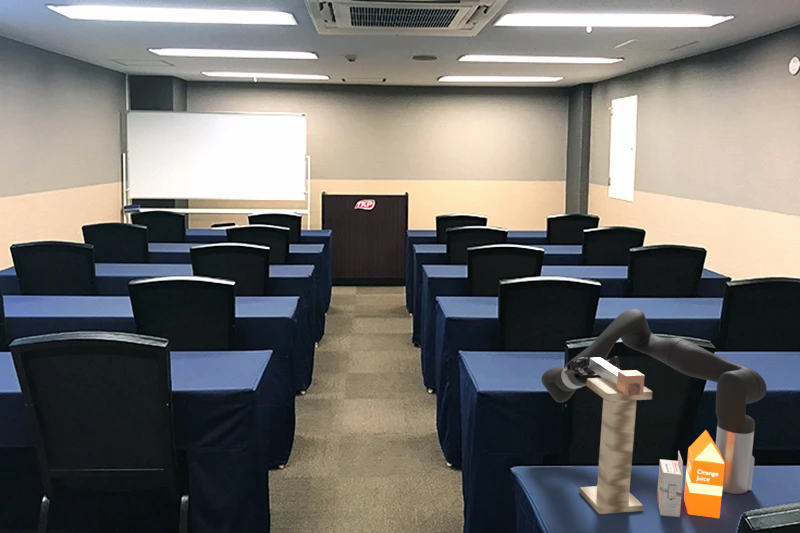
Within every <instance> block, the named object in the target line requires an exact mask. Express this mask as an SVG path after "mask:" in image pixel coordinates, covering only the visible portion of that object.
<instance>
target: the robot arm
mask: <svg viewBox="0 0 800 533" xmlns="http://www.w3.org/2000/svg"><path fill="white" fill-rule="evenodd" d="M619 340H621V341H622V343H623V344H624V345H625V346H626V347H628V348H630V349H632V350H635V351H636V352H640V353H642V354H645V355H648V356H650V357H652V358H653V359H656V360H657V361H660V362H662V363H663V364H666V365H667V366H669V367H670V368H672V369H674V370H675V371H677V372H679V373H681V374H684V375H686V376H689V377H692V378H696V379H701V380H705V381H709V382H714V383H717V384H716V394H715V415H716V419H717V426H716V437H715V445H716V446H717V448H718V450H719V451H720V454H721V456H722V458H723V461H724V463H725V467H724V476H723V488H722V492H724V493H727V494H733V495H739V494H740V495H741V494H745V493H747V492H748V491H752V486H753V477H754V469H755V468H754V466H755V457H754V456H753V446H754V438H755V437H754V436H755V427H756V421H755V419H754V418H752V417H751V416H750V415H747V414H746V409H747V408H746V407H747V405H748V404H753V403H756V402H758V401H760V400H762V399H763V398H764V397H765V396H766V394H767V390H768V388H767V384H766V381H765V379H764V378H763V377H762V375H760V373H758V372H757V371H755V370H754V369H751V368H748V367H746V366H743V365H740V364H738V363H735V362H732V361H730V360H727V359H724V358H723V357H720V356H719V355H717V354H715V353H714V352H711V351H709V350H707V349H704V348H703V347H700V346H699V345H697V344H695V343H694V342H691V341H689V340H687V339H685V338H682V337H671V338H666V339H663V338H661V337H660V336H657V335H656V334H654V333H653V332H652V331H651V330H650V326H649V324H648V321H647V317H646V315H645V314H644V312H642V311H641V310H640V309H637V308H633V309H628V310H624V311H623V312H622V313H621V314H619V315H618V316H617V317H616V318H615V319H613V321H612V322H611V323H610V324H609V325H608V326H607V327H606V328H605V329H604V330H603V331H602V332H601V333H600V335H599V336H598V337H597V338H596V339H595V340H594V341H593V342H592V343H591V344H590V345H589V346H587V347H586V348H585V349H584V350H583V351H581V352H580V353H579V354H577V355H576V356H575V357H573V358H572V359H571V360H569V361H568V362H567V363H565V364H564V365H563V367H560V366H559V367H552V368H549V369H547V370H546V371H545V372H544V373H543V374H542V376H541V384H542V385H543V387H544V388H545V389H546V390H547V391H548V393H549V395H550V396H551V397H552V399H553V400H554V401H555V402H557V403H565V402H567V401H568V400H569V399H571V397H572V396H573V395H574V393H575V392H576V390H577V389H580V388H582V387H585V386H586V385H587V378H597V376H599V375H598V374H597V373H595V372H594V371H592V370H591V369H590V368H589V365H590V358H597V357H600V358H602V359H604V360H605V361H607V362H608V363H610V364H611V365H613V366H614V367H616V368H618V369H619V370H620V368H621V367H620V358H619V357H618V356H613V357H611V358H610V359H607V357H608V355H609V353H610V352H611V350H612V348H613V347H614V346H615V344H616V342H618V341H619Z"/></svg>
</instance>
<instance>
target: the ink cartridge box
mask: <svg viewBox="0 0 800 533" xmlns="http://www.w3.org/2000/svg"><path fill="white" fill-rule="evenodd" d="M682 458H683V457H682V456H681V453H680V450H678V451H677V460H670V459H661V458H660V459H659V465H658V466H659V469H658V482H657V491H656V492H657V494H656V501H657V505H658V510H659V511H658V512H659V514H660V516H664V517H675V518H680V516H681V505H682V493H683V481H684V462H683V459H682Z"/></svg>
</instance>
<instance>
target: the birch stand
mask: <svg viewBox="0 0 800 533" xmlns="http://www.w3.org/2000/svg"><path fill="white" fill-rule="evenodd" d="M585 386H586V387H588V388H589V389H590V390H591V391H593V393H595V394H597V395H598V396H600V397H601V398H602V412H601V426H600V427H601V428H600V429H601V430H600V441H599V442H600V444H599V457H598V470H597V484H596V485H594V486H580V487H579V490H578V491H579V494H580V495H581V496H582V497H583V498H584V499H585V501H586V502H587V503H588V504H590V506H591V507H592V508H593V509H594V511H596V513H598V514H599V515H607V514H609V515H610V514H616V513H617V514H618V513H619V514H620V513H630V512H632V513H633V512H643V511H644V505H643V503H641V502H640V501H639V500H638V499H637V498H636V497H635V496H634V495H633V494H632V493H631V492H630V491H631V488H630V487H631V477H632V476H631V475H632V464H633V463H632V462H633V454H634V453H633V452H634V451H633V450H634V441H635V440H634V439H635V426H636V413H637V412H636V411H637V401H642V400H645V401H646V400H653V390H651V389H649V388H648V387H646V386H645V385H644V389H643V395H625V396H624V395H623V394H621V393H620V392H619V391H617V387H615V386H614V385H613V384H611V383H610V382H608V381H607V380H605V379H604V378H602V377H596V378H587V385H585Z"/></svg>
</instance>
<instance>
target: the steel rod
mask: <svg viewBox="0 0 800 533" xmlns="http://www.w3.org/2000/svg"><path fill="white" fill-rule="evenodd" d="M605 360H606V359H605ZM605 360H604V359H602V358H600V357H597V358H590V365H589V368H590V369H591V370H592V371H594V372H595V373H597V374H598V375H597V376H600V378H604V379H605V380H607V381H608V382H610V383H611V384H613V385H614V386H615V387H617V391H619V392H620V393H621V394H623V395H624V396H625V395H643V389H644V386H645V374H643V373H642V372H640V371H638V370H637V369H636V370H635V369H634V370H632V369H631V370H630V369H629V370H621V369H620V368H619V369H618V368H616V367H614V366H613V365H611V364H610V363H609V362H607V361H605Z"/></svg>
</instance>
